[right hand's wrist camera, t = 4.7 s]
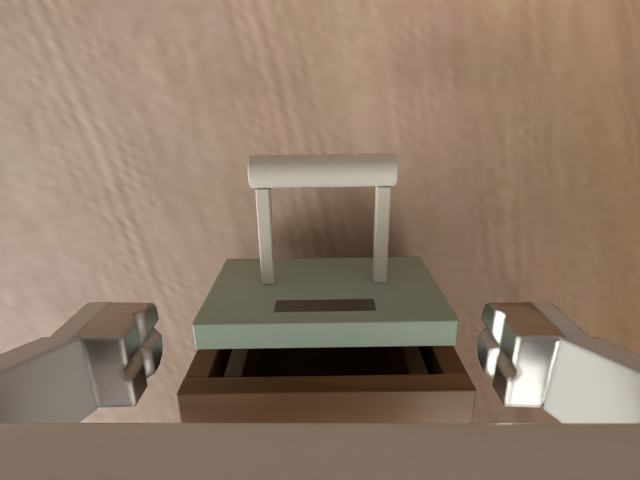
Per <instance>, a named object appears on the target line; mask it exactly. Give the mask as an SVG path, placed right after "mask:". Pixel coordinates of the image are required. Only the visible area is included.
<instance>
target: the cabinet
mask: <svg viewBox="0 0 640 480" xmlns="http://www.w3.org/2000/svg"><path fill="white" fill-rule="evenodd" d="M418 348H419V351H420V354H421V356H422V359H423V361H424V364H425V366H426V369H427V371H428V374H420V375H352V376H284V377H224V373H225V370H226V367H227V364H228V361H229V358H230V355H231V352H232V349H198V350H197V352H196V355H195V357H194V359H193V361H192V363H191V365H190V368H189V370H188V372H187V374H186V376H185V378H184V380H183V382H182V384H181V386H180V388H179V391H178V393H177V400H178V406H179V412H180V418H181V423H472V416H473V409H474V403H475V396H476V389H475V387H474V385H473V383H472V381H471V379H470V377H469V375H468V374H467V371H466V370H465V368H464V366H463V364H462V362H461V360H460V358H459V356H458V355H457V353H456V351H455V349H454V347H453V346H418Z"/></svg>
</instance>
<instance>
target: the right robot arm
mask: <svg viewBox="0 0 640 480" xmlns="http://www.w3.org/2000/svg"><path fill="white" fill-rule="evenodd" d="M157 321H158V314H157V309H156V306H155V305H154V304H153V303H125V302H92V303H87V304H86V305H85V306H84V307H83V308H82V309H80V310H79V311H78V312H77V313H76V314H75V315H74V316H73V317H72V318H70V319H69V320H68V321H67V322H66V323H65V324H64V325H63V326H62V327H61V328H59V329H58V330H57V331H56V332H55V333H54V334H53V335H52V336H51V337H44V338H40V339H38V340H35V341H33V342H30V343H28V344H25V345H23V346H20V347H18V348H15V349H13V350H10V351H8V352H5V353H3V354H0V480H640V354H637V353H635V352H632V351H630V350H627V349H625V348H622V347H620V346H617V345H615V344H612V343H610V342H607V341H605V340H602V339H600V338H596V337H590V336H588V335H587V334H586V333H585V332H584V331H583V330H582V329H581V328H580V327H578V326H577V325H576V324H575V323H574V322H573V321H572V320H571V319H570V318H568V317H567V316H566V315H565V314H564V313H563V312H562V311H561V310H560V309H559V308H557V307H556V306H555V305H554V304H553V303H550V302H518V303H489V304H486V305H485V307H484V309H483V313H482V321H483V322H484V324H485V325H486V328H485V329H484V330H483V331H482V332H481V333H480V334H479V338H478V357H479V361H480V364H481V366H482V368H483V370H484V372H485V373H486V374H488V375H489V376H491V377H492V378H494V381H493V387H494V389H495V391H496V392H497V394H498V396H499V397H500V399H501V401H502V402H503V404H504V406H509V407H543V409H544V410H545V411H546V412H548V413H549V414H550V415H552V416H553V417H554V418H556V419H557V420H558V421H560V422H561V423H79V422H81V421H82V420H83V419H85V418H86V417H87V416H89V415H90V414H91V413H93V412H94V411H95V410H97V407H130V406H136V404H137V402H138V401H139V399H140V397H141V396H142V394H143V392H144V391H145V389H146V387H147V381H146V378H148V377H149V376H151V375H152V374H154V373H155V372H156V370H157V368H158V366H159V364H160V360H161V356H162V338H161V334H160V333H159V332H158V331H157V330H156V329H155V328H154V325H155V324H156V322H157Z"/></svg>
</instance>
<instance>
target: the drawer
mask: <svg viewBox="0 0 640 480" xmlns="http://www.w3.org/2000/svg"><path fill="white" fill-rule="evenodd" d="M248 180H249V185H250V187H251V188H256V190H255V194H256V208H257V223H258V237H259V251H260V259H227V260H226V262H225V264H224V266H223V268H222V269H221V271H220V273H219V275H218V277H217V279H216V281H215V283H214V284H213V286H212V288H211V290H210V292H209V294H208V296H207V297H206V299H205V301H204V303H203V305H202V307H201V309H200V310H199V312H198V314H197V316H196V318H195V320H194V322H193V324H192V328H193V335H194V342H195V348H196V349H232V352H231V355H230V358H229V361H228V364H227V367H226V370H225V373H224V377H284V376H352V375H420V374H428V371H427V369H426V366H425V364H424V361H423V359H422V356H421V354H420V351H419V348H418V346H454V345H456V340H457V332H458V324H459V320H458V318H457V317H456V315H455V313H454V312H453V310H452V308H451V307H450V305H449V304H448V302H447V300H446V299H445V297H444V296H443V294H442V292H441V291H440V289H439V287H438V286H437V284H436V283H435V281H434V279H433V278H432V276H431V274H430V273H429V271H428V270H427V268H426V266H425V265H424V263H423V261H422V260H421V258H420V257H388V242H389V222H390V201H391V187H390V186H395V185H396V184H397V180H398V158H397V155H396V154H334V155H262V156H249V159H248ZM363 186H376V188H375V217H374V245H373V257H356V258H286V259H274V242H273V224H272V206H271V188H292V187H363Z"/></svg>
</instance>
